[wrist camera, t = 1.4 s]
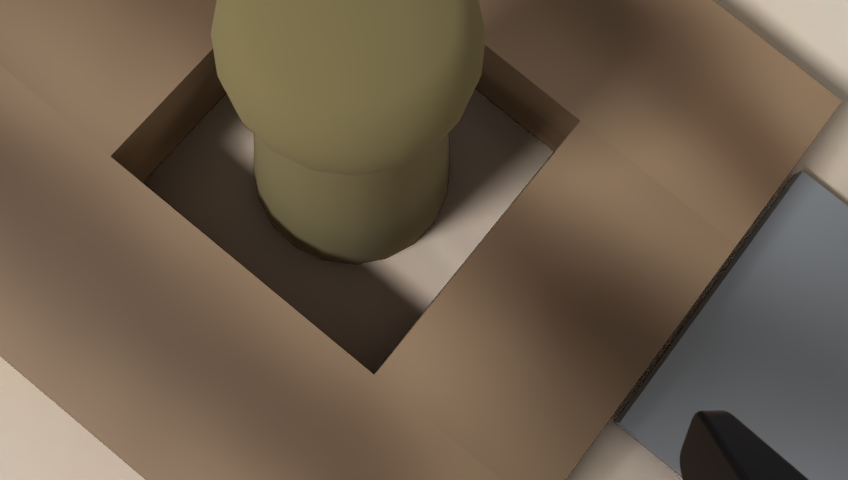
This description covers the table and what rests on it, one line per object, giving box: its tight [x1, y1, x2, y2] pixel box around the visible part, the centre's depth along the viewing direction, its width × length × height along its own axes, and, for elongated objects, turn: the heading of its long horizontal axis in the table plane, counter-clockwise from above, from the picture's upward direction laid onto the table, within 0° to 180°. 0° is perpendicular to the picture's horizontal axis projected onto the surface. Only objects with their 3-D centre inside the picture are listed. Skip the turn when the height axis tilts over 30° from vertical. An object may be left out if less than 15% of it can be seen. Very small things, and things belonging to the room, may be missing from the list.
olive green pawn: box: [211, 0, 486, 264], centre depth 19 cm, size 6×6×11 cm
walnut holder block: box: [0, 0, 842, 480], centre depth 23 cm, size 20×20×3 cm
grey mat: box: [615, 171, 848, 480], centre depth 24 cm, size 10×10×1 cm
